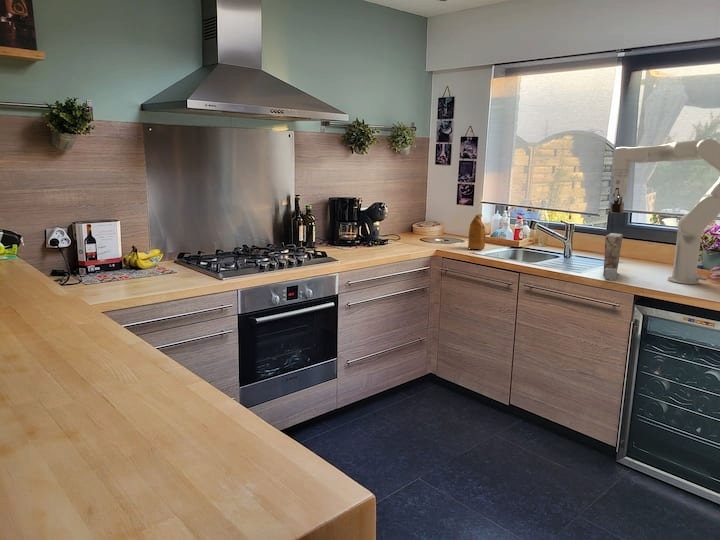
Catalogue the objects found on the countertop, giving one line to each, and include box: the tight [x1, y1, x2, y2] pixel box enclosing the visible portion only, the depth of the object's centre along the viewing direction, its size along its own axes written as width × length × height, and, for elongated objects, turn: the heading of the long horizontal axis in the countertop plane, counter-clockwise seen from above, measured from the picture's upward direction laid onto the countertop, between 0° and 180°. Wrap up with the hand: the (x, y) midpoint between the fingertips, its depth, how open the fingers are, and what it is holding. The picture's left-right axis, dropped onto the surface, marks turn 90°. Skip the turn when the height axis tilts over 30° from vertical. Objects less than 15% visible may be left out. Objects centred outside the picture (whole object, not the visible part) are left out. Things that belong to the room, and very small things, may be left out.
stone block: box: [603, 232, 624, 276], centre depth 269 cm, size 13×7×20 cm, turn 153°
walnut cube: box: [609, 201, 625, 214], centre depth 265 cm, size 5×5×5 cm
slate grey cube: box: [603, 268, 618, 281], centre depth 260 cm, size 5×5×5 cm
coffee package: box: [467, 213, 487, 251], centre depth 343 cm, size 10×12×22 cm
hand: (616, 211), depth 265 cm, fingers closed on walnut cube, 5 cm apart
